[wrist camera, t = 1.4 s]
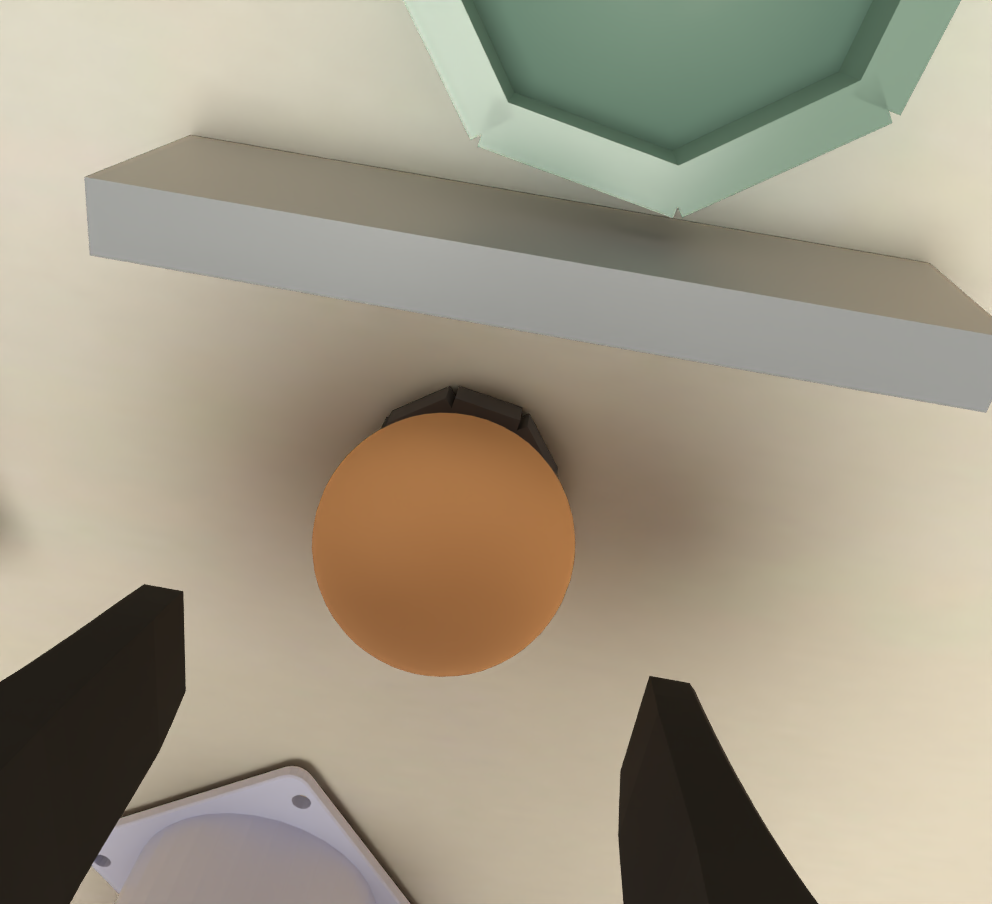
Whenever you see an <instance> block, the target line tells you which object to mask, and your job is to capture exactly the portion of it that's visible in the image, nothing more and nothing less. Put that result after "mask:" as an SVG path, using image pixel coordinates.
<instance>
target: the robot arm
mask: <svg viewBox="0 0 992 904" xmlns="http://www.w3.org/2000/svg"><path fill="white" fill-rule="evenodd" d="M185 691H186V686H185V644H184V602H183V591H178V590H173V589H167V588H162V587H156V586H151V585H145V584H144V585H143V586H141V587H140V588H138V589H137V590H135V591H134V592H132V593H131V594H129V595H128V596H126V597H125V598H123V599H122V600H120V601H119V602H118V603H116V604H115V605H113V606H112V607H111V608H109V609H108V610H106V611H105V612H103V613H102V614H101V615H99V616H98V617H96V618H95V619H94V620H92V621H91V622H89V623H88V624H86V625H85V626H84V627H82V628H81V629H79V630H78V631H76V632H75V633H74V634H72V635H71V636H69V637H68V638H66V639H65V640H63V641H62V642H60V643H59V644H57V645H56V646H54V647H53V648H51V649H50V650H49V651H47V652H46V653H44V654H43V655H41V656H40V657H38V658H37V659H35V660H34V661H32V662H31V663H29V664H28V665H26V666H25V667H23V668H22V669H20V670H18V671H17V672H15V673H14V674H12V675H10V676H9V677H7V678H6V679H4V680H2V681H1V682H0V904H70V902H71V901H72V899H73V897H74V895H75V893H76V891H77V890H78V888H79V886H80V884H81V882H82V881H83V879H84V877H85V876H86V874H87V872H88V871H89V869H90V867H91V866H92V867H93V868H94V869H95V870H96V871H97V872H98V873H99V874H100V875H101V876H102V877H103V878H104V879H105V880H106V881H107V882H108V883H109V884H110V885H111V886H112V887H113V888H114V890H115V891H116V892H117V893H118V894H119V895H118V897H117V899H116V901H115V903H114V904H410V902H409V901H408V900H407V899H406V897H405V896H404V895H403V893H402V892H401V891H400V890H399V888H398V887H397V886H396V884H395V883H394V882H393V880H392V879H391V878H390V877H389V875H388V874H387V873H386V871H385V870H384V869H383V868H382V866H381V865H380V864H379V862H378V861H377V860H376V858H375V857H374V856H373V855H372V853H371V852H370V851H369V849H368V848H367V847H366V846H365V844H364V843H363V842H362V840H361V839H360V838H359V836H358V835H357V834H356V833H355V831H354V830H353V829H352V827H351V826H350V825H349V824H348V822H347V821H346V820H345V818H344V817H343V816H342V815H341V813H340V812H339V811H338V809H337V808H336V807H335V805H334V804H333V803H332V802H331V800H330V799H329V798H328V796H327V795H326V794H325V793H324V791H323V790H322V789H321V787H320V786H319V785H318V783H317V782H316V781H315V780H314V778H313V777H312V776H311V774H309V773H308V772H307V771H306V770H305V769H303V768H301V767H297V766H288V767H283V768H280V769H277V770H274V771H270V772H267V773H264V774H261V775H258V776H254V777H251V778H248V779H245V780H241V781H238V782H235V783H232V784H228V785H225V786H222V787H219V788H216V789H212V790H209V791H206V792H203V793H199V794H196V795H193V796H190V797H187V798H183V799H180V800H177V801H174V802H170V803H167V804H164V805H161V806H158V807H154V808H151V809H148V810H145V811H141V812H138V813H135V814H132V815H129V816H125V817H122V818H120V817H121V815H122V814H123V812H124V810H125V809H126V807H127V805H128V804H129V802H130V800H131V799H132V797H133V795H134V794H135V792H136V790H137V789H138V787H139V785H140V784H141V782H142V780H143V778H144V777H145V775H146V773H147V772H148V770H149V768H150V767H151V765H152V763H153V761H154V760H155V758H156V756H157V754H158V753H159V751H160V749H161V747H162V744H163V742H164V740H165V738H166V735H167V733H168V731H169V729H170V727H171V724H172V722H173V720H174V717H175V715H176V713H177V710H178V708H179V706H180V703H181V701H182V699H183V696H184V694H185ZM301 795H303V796H301ZM304 796H306V797H304ZM618 837H619V852H620V864H621V877H622V890H623V902H624V904H818V903H817V901H816V900H815V899H814V897H813V896H812V895H811V893H810V892H809V890H808V889H807V888H806V886H805V885H804V883H803V882H802V880H801V879H800V878H799V876H798V875H797V873H796V872H795V870H794V869H793V867H792V866H791V864H790V863H789V861H788V860H787V858H786V857H785V855H784V854H783V852H782V851H781V849H780V847H779V846H778V844H777V843H776V841H775V840H774V838H773V836H772V835H771V833H770V832H769V830H768V829H767V827H766V825H765V824H764V822H763V820H762V819H761V817H760V815H759V814H758V812H757V810H756V809H755V807H754V805H753V803H752V801H751V800H750V798H749V796H748V794H747V793H746V791H745V789H744V787H743V785H742V784H741V782H740V780H739V778H738V777H737V775H736V773H735V771H734V769H733V767H732V766H731V764H730V762H729V760H728V758H727V756H726V754H725V752H724V750H723V748H722V746H721V744H720V742H719V740H718V739H717V737H716V735H715V733H714V730H713V728H712V726H711V724H710V722H709V720H708V718H707V716H706V714H705V712H704V710H703V708H702V705H701V703H700V701H699V699H698V697H697V695H696V692H695V690H694V689H693V687H692V686H691V685H690V683H686V682H680V681H675V680H669V679H664V678H658V677H653V676H649V680H648V683H647V686H646V689H645V693H644V696H643V699H642V702H641V706H640V709H639V712H638V716H637V719H636V722H635V725H634V729H633V732H632V735H631V738H630V742H629V745H628V748H627V752H626V755H625V758H624V761H623V765H622V768H621V774H620V798H619V831H618Z"/></svg>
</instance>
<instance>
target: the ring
mask: <svg viewBox="0 0 992 904" xmlns="http://www.w3.org/2000/svg"><path fill="white" fill-rule="evenodd" d="M431 413H457V414H464V415H470V416H475V417H478V418H482V419H486V420H488V421H491V422H493V423H496V424H498V425H500V426H503V427H504V428H506V429H508V430H510V431H512V432H513V433H515V434H517V435H518V436H519V437H521V438H522V439H524V440H525V441H526V442H528V443H529V444H530V445H531V446H532V447H533V448H534V449H535V450H536V451H537V452H538V453H539V454H540V455H541V456H542V457H543V459H544V460H545V461H546V462H547V463H548V465H549V466H550V467H551V469H552V470H553V472H554V473H555V475H556V476H557V478H558V475H557V466H556V464H555V462H554V460H553V458H552V456H551V454H550V452H549V450H548V448H547V447H546V445H545V443H544V441H543V439H542V437H541V435H540V433H539V431H538V429H537V427H536V425H535V423H534V422H533V420H532V418H531V416H530V414H528V415H526V416H523V417H521V414H522V408H521V407H518V406H515V405H512V404H510V403H507V402H504V401H501V400H498V399H495V398H492V397H489V396H486V395H484V394H481V393H478V392H475V391H472V390H469V389H466V388H463V387H460V386H459V388H458V391H457V394H456V397H455V395H454V393H453V391H452V389H451V388H450V386H449V387H447V388H445V389H442V390H440V391H438V392H435V393H433V394H431V395H428V396H426V397H424V398H421V399H419V400H417V401H414V402H412V403H410V404H407V405H405V406H403V407H400V408H398V409H396V410H393V411H392V412H391V415H390V417H389V418H388V417H386V419H385V422H384V424H383V426H382V428H384V427H386V426H388V425H390V424H393V423H395V422H398V421H400V420H403V419H406V418H409V417H413V416H418V415H423V414H431ZM382 428H381V429H382Z"/></svg>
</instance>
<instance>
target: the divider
mask: <svg viewBox="0 0 992 904" xmlns="http://www.w3.org/2000/svg"><path fill="white" fill-rule="evenodd" d="M85 192H86V206H87V221H88V236H89V250H90V255H91V256H96V257H102V258H108V259H114V260H119V261H125V262H131V263H136V264H142V265H148V266H153V267H159V268H165V269H171V270H176V271H182V272H188V273H193V274H199V275H205V276H210V277H216V278H222V279H228V280H233V281H239V282H245V283H250V284H256V285H262V286H267V287H273V288H279V289H285V290H290V291H296V292H302V293H307V294H313V295H319V296H324V297H330V298H336V299H341V300H347V301H353V302H359V303H364V304H370V305H376V306H381V307H387V308H393V309H398V310H404V311H410V312H416V313H421V314H427V315H433V316H438V317H444V318H450V319H455V320H461V321H467V322H473V323H478V324H484V325H490V326H495V327H501V328H507V329H512V330H518V331H524V332H529V333H535V334H541V335H547V336H552V337H558V338H564V339H569V340H575V341H581V342H586V343H592V344H598V345H604V346H609V347H615V348H621V349H626V350H632V351H638V352H643V353H649V354H655V355H661V356H666V357H672V358H678V359H683V360H689V361H695V362H700V363H706V364H712V365H718V366H723V367H729V368H735V369H740V370H746V371H752V372H757V373H763V374H769V375H774V376H780V377H786V378H792V379H797V380H803V381H809V382H814V383H820V384H826V385H831V386H837V387H843V388H849V389H854V390H860V391H866V392H871V393H877V394H883V395H888V396H894V397H900V398H906V399H911V400H917V401H923V402H928V403H934V404H940V405H945V406H951V407H957V408H963V409H968V410H974V411H980V412H985V413H986V412H987V410H988V407H989V405H990V403H991V401H992V316H991V315H990V314H988V313H987V312H986V311H985V310H984V309H983V308H981V307H980V306H979V305H978V304H977V303H976V302H974V301H973V300H972V299H971V298H970V297H969V296H967V295H966V294H965V293H964V292H963V291H962V290H960V289H959V288H958V287H957V286H956V285H955V284H953V283H952V282H951V281H950V280H949V279H948V278H946V277H945V276H944V275H943V274H942V273H941V272H939V271H938V270H937V269H936V268H935V267H934V266H932V265H931V264H930V263H926V262H920V261H914V260H909V259H903V258H897V257H891V256H885V255H880V254H874V253H868V252H862V251H857V250H851V249H845V248H839V247H834V246H828V245H822V244H816V243H810V242H805V241H799V240H793V239H787V238H782V237H776V236H770V235H764V234H759V233H753V232H747V231H741V230H735V229H730V228H724V227H718V226H712V225H707V224H701V223H695V222H689V221H684V220H678V219H672V218H666V217H660V216H655V215H649V214H643V213H637V212H632V211H626V210H620V209H614V208H609V207H603V206H597V205H591V204H585V203H580V202H574V201H568V200H562V199H557V198H551V197H545V196H539V195H534V194H528V193H522V192H516V191H510V190H505V189H499V188H493V187H487V186H482V185H476V184H470V183H464V182H459V181H453V180H447V179H441V178H435V177H430V176H424V175H418V174H412V173H407V172H401V171H395V170H389V169H384V168H378V167H372V166H366V165H361V164H355V163H349V162H343V161H337V160H332V159H326V158H320V157H314V156H309V155H303V154H297V153H291V152H286V151H280V150H274V149H268V148H262V147H257V146H251V145H245V144H239V143H234V142H228V141H222V140H216V139H211V138H205V137H199V136H193V135H189V136H186V137H184V138H181V139H179V140H176V141H174V142H171V143H169V144H166V145H164V146H161V147H159V148H156V149H154V150H151V151H149V152H146V153H144V154H141V155H139V156H136V157H133V158H131V159H128V160H126V161H123V162H121V163H118V164H116V165H113V166H111V167H108V168H106V169H103V170H101V171H98V172H96V173H93V174H91V175H88V176H86V177H85Z"/></svg>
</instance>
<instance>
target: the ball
mask: <svg viewBox="0 0 992 904" xmlns="http://www.w3.org/2000/svg"><path fill="white" fill-rule="evenodd" d="M312 553H313V562H314V570H315V575H316V579H317V582H318V586H319V589H320V591H321V594H322V596H323V599H324V601H325V603H326V606H327V607H328V609H329V611H330V612H331V614H332V616H333V617H334V619H335V620H336V622H337V623H338V624H339V626H340V627H341V628H342V629H343V631H344V632H345V633H346V634H347V635H348V636H349V637H350V638H351V639H352V640H353V641H354V642H355V643H356V644H357V645H358V646H359V647H361V648H362V649H363V650H365V651H366V652H367V653H369V654H370V655H372V656H374V657H375V658H377V659H378V660H380V661H382V662H384V663H386V664H388V665H390V666H392V667H395V668H398V669H400V670H403V671H407V672H410V673H414V674H420V675H426V676H439V677H442V676H460V675H466V674H472V673H476V672H479V671H483V670H486V669H488V668H491V667H493V666H496V665H498V664H500V663H502V662H504V661H506V660H508V659H509V658H511V657H513V656H515V655H516V654H517V653H519V652H520V651H522V650H523V649H524V648H525V647H527V646H528V645H529V644H530V643H531V642H532V641H533V640H534V639H535V638H536V637H537V636H539V635H540V634H541V632H542V631H543V630H544V629H545V627H546V626H547V625H548V624H549V622H550V621H551V619H552V618H553V617H554V615H555V613H556V612H557V610H558V608H559V606H560V605H561V603H562V600H563V598H564V595H565V593H566V590H567V588H568V585H569V582H570V579H571V574H572V569H573V564H574V557H575V533H574V524H573V517H572V513H571V510H570V506H569V503H568V500H567V497H566V495H565V492H564V490H563V488H562V485H561V483H560V481H559V480H558V478H557V476H556V475H555V473H554V472H553V470H552V469H551V467H550V466H549V465H548V463H547V462H546V461H545V460H544V459H543V457H542V456H541V455H540V454H539V453H538V452H537V451H536V450H535V449H534V448H533V447H532V446H531V445H530V444H529V443H528V442H526V441H525V440H524V439H522V438H521V437H519V436H518V435H517V434H515V433H513V432H512V431H510V430H508V429H506V428H504V427H503V426H500V425H498V424H496V423H493V422H491V421H488V420H486V419H482V418H478V417H475V416H470V415H464V414H457V413H431V414H423V415H418V416H413V417H409V418H406V419H403V420H400V421H398V422H395V423H393V424H390V425H388V426H386V427H384V428H382V429H380V430H378V431H376V432H375V433H374V434H372V435H371V436H369V437H368V438H366V439H365V440H364V441H362V442H361V443H360V444H359V445H358V446H357V447H356V448H355V449H354V450H352V451H351V452H350V453H349V454H348V455H347V456H346V457H345V459H344V460H343V461H342V462H341V464H340V465H339V466H338V468H337V469H336V470H335V472H334V473H333V475H332V477H331V478H330V480H329V482H328V484H327V485H326V487H325V490H324V492H323V495H322V497H321V500H320V503H319V506H318V508H317V511H316V517H315V522H314V528H313V537H312Z"/></svg>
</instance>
